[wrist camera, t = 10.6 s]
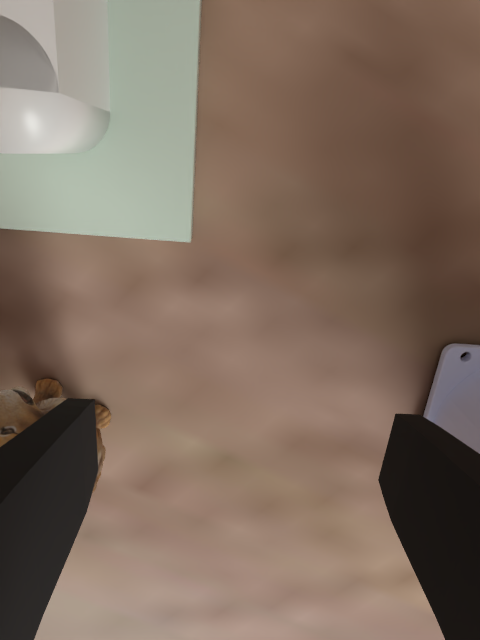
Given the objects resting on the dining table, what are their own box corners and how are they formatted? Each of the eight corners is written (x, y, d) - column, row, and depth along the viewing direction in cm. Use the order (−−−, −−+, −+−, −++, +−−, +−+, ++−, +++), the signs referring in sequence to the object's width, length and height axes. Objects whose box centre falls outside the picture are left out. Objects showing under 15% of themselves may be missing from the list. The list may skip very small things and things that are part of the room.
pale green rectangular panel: (207, -144, 13) (206, -167, 12) (192, 237, 18) (190, 242, 17) (-94, -186, 12) (-119, -213, 12) (-31, 221, 17) (-46, 224, 16)
